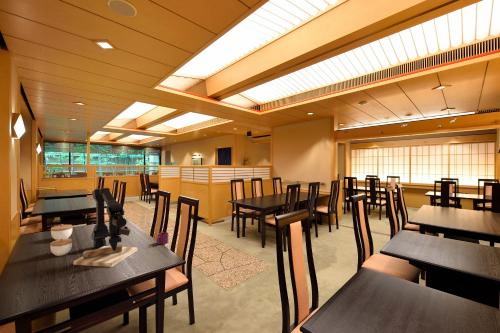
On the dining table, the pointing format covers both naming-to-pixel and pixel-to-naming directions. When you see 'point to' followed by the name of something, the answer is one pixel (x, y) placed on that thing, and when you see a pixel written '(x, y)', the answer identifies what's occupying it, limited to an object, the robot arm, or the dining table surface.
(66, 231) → the lidded bowl
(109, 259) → the stool board
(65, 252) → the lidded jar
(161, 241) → the mug
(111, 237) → the robot arm
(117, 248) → the stool leg
